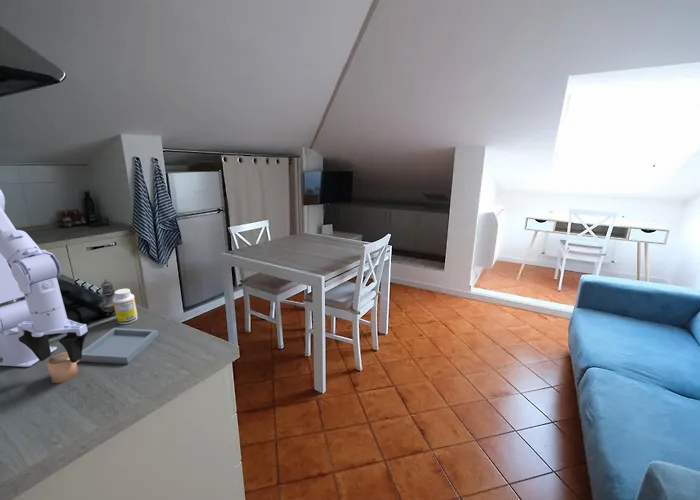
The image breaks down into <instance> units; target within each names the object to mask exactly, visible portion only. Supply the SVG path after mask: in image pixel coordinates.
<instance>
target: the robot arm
mask: <svg viewBox="0 0 700 500" xmlns="http://www.w3.org/2000/svg"><path fill="white" fill-rule="evenodd" d="M5 206H6V199H5V195H4V192H3V191H2V190H1V188H0V357H2V358H3V362H1V363H0V366H7V367H23V368H29V367H31V366H33V365H35V364H36V363H37V362H39V361H40V362H43V361H45V360H46V359H47V360H48V359H49V357H50V358H51V357H52V355H51V353H53V352H54V351H56V350H57V349H58V347H57V346H50V342H49V341H50V340H49V335H55V334H66V335H65V336H63V337H62V338H60V339H59V340H58V342H59V343H60V345H62V346H63V348H64V349H65V350H66V351H65V352H67V353H68V356H69V359H70V361H71V362H72V363H75V362H77V361H78V360H79V359H81V358H82V350H83V348H84V342H85V341H86V337H87V336H88V334H89V329H88V327H87V323H80V322H78V321H74V320H71V319H69V318H68V316H67V311H66V308H65V304H64V301H63V296H62V293H61V289H60V285H59V281H58V278H57V277H60V276H61V274H62V268H61V265H60V263H59V260H58V259H57V258H56V256H55V255H54V253H52V252H49V251H47V250H46V249H41V247H39V246H38V244H37V243H36V242H35V241H34V240H33V239H32V237H31V236H30V235H29V234H28V233H27V232H26V231H24V230H21V229H17V228H15V225H14V224H13V223H12V221H11V219H10V218H9V217H8V215H7V214H6V213H5ZM18 299H19V300H18ZM14 300H15V301H14ZM7 302H9V303H7ZM1 304H2V305H1ZM78 362H79V361H78ZM78 362H77V363H78Z"/></svg>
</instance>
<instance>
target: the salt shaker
mask: <svg viewBox="0 0 700 500" xmlns="http://www.w3.org/2000/svg"><path fill="white" fill-rule="evenodd" d="M100 286H101V290H102V292H101V295H102V296H103V297H102V298H103V302H100V304H99V308H101V310H102V311H103V312H109V313H113V312H115V309H114V304H113V298H114V297H115V291H116V290H115V289H114V286H113V283H112V282H111V281H108V279H105V280H104V281H103V282H102V283H101V284H100Z"/></svg>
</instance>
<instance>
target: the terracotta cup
mask: <svg viewBox="0 0 700 500" xmlns="http://www.w3.org/2000/svg"><path fill="white" fill-rule="evenodd" d="M79 362H80V361H79V360H78V361H77V362H75V363H72V362H71V361H70V359H69V356H68V353H67V351H65V352H61V353H58V354H55V355H52V356H50V358H47V360H46V367H47V369H48V372H49V373H48V374H49V377H50V380H51V383H53V384H63V383H66V382H69V381H72V380H73V379H74V378H76V377H77V376H78V375H79V373H80V371H79V367H78V364H77V363H79Z"/></svg>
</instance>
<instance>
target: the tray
mask: <svg viewBox="0 0 700 500" xmlns="http://www.w3.org/2000/svg"><path fill="white" fill-rule="evenodd" d="M158 337H159V329H148V328H147V329H145V328H130V327H128V328H127V327H126V328H125V327H113V328H112V329H110V330H108V332H106V333H105V334H104V335H101V336H100V337H99V338H97V339H96V340H95V341H93V342H92V343H91V344H90V345H88V346H86V347H85V348H84V349H82V358H81V359H79V361H78V362H84V363H87V362H88V363H101V364H102V363H103V364H104V363H105V364H118V365H119V364H120V365H121V364H123V365H129V364H130V363H131V362H133V360H135V358H137V356H139V355H140V354H141V353H142V352H143V351H144V350H145V349H147V347H148V346H149V345H151V344H152V343H153V342H154V341H155V340H156V339H157V338H158Z"/></svg>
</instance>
